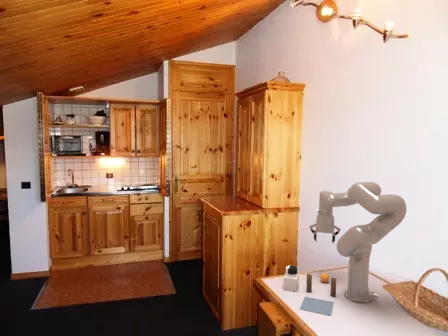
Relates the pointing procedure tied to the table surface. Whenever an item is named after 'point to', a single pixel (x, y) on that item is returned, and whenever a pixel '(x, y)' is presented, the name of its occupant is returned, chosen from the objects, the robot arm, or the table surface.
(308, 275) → the post
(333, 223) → the robot arm
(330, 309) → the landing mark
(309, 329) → the table surface
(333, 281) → the post
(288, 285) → the medicine bottle
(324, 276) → the ball
